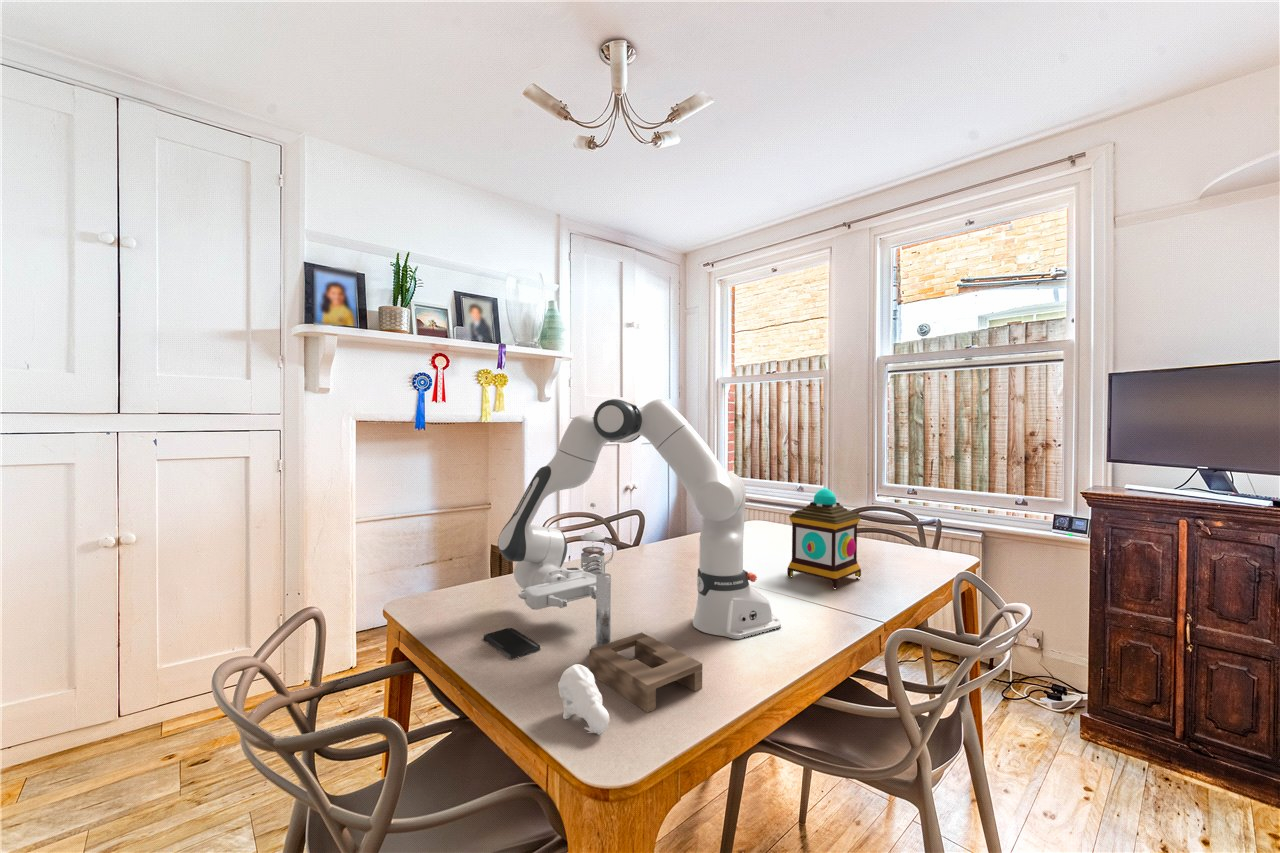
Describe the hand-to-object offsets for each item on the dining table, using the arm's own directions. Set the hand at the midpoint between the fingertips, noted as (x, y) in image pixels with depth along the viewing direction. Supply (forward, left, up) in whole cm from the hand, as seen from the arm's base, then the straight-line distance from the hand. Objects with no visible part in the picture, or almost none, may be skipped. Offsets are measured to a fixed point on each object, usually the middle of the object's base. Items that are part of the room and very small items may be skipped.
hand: (581, 599), depth 127 cm
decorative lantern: (-87, -24, -10) cm, 91 cm away
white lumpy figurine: (+6, +33, -10) cm, 35 cm away
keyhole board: (-8, +22, -10) cm, 26 cm away
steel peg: (-3, +9, -10) cm, 14 cm away
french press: (-15, -47, -10) cm, 50 cm away
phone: (+16, -4, -11) cm, 19 cm away
